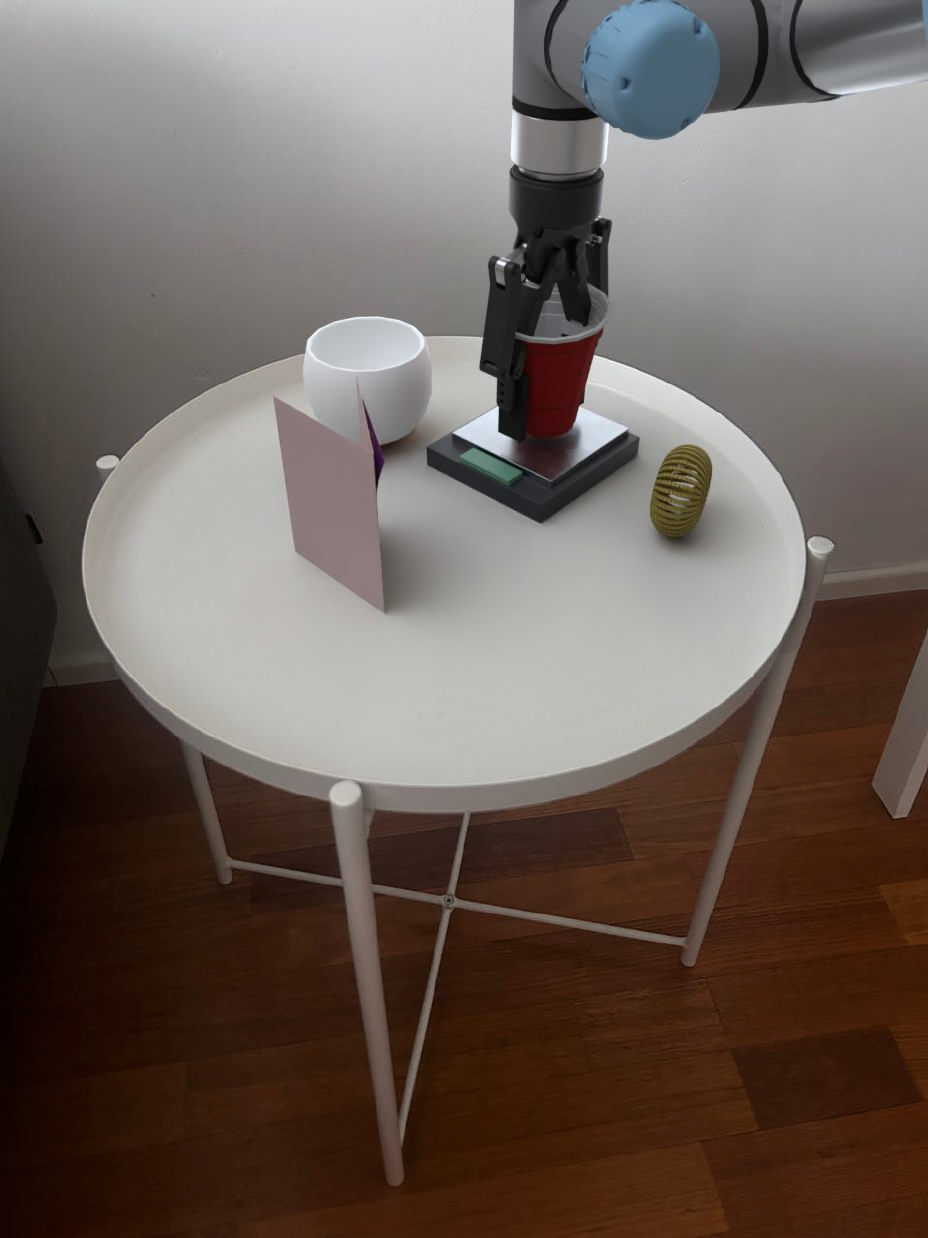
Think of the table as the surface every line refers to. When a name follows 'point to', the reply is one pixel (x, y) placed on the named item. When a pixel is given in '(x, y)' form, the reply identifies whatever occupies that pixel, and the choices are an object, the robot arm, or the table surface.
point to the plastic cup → (560, 363)
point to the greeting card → (334, 498)
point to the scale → (533, 461)
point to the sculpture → (680, 490)
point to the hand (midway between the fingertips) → (541, 416)
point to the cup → (368, 376)
